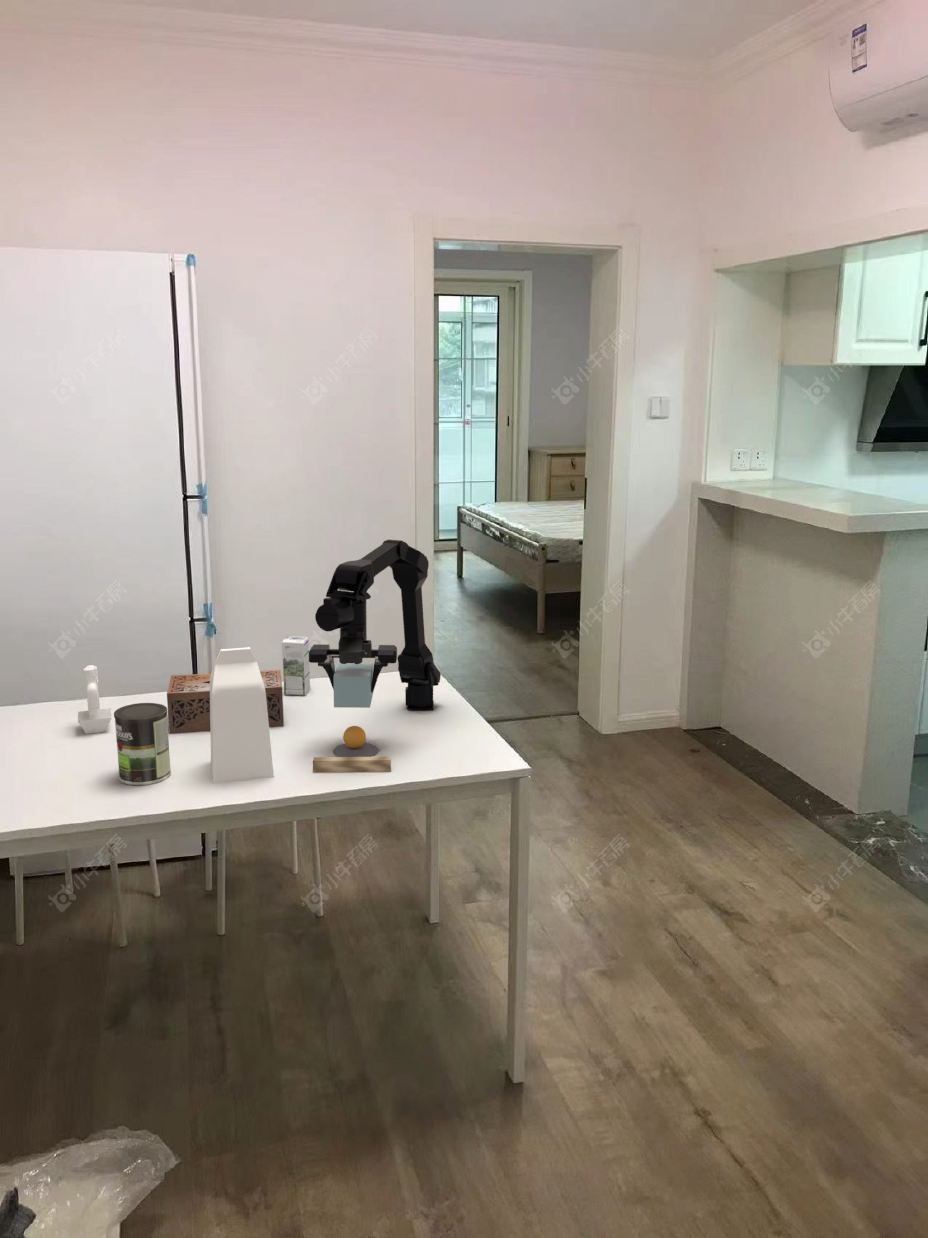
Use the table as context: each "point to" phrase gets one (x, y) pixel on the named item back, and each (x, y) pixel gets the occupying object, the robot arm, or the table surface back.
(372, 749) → the gray round object
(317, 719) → the table surface
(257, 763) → the milk
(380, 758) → the tan wooden bar
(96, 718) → the figurine
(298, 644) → the syrup box
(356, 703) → the light blue rectangular box
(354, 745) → the ball
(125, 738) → the coffee can
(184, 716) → the tissue box cover
